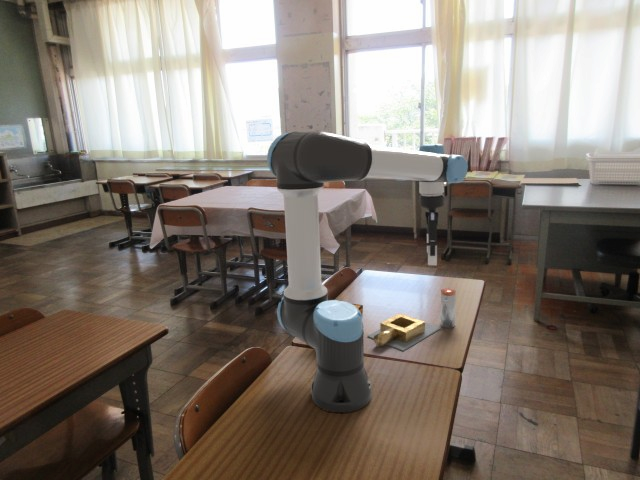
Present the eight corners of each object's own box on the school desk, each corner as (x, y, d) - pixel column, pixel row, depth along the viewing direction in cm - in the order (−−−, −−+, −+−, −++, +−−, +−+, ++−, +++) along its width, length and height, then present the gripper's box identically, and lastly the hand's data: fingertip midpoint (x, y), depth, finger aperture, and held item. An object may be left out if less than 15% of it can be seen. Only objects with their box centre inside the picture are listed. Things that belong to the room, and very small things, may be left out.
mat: (403, 351, 131) (403, 350, 131) (367, 336, 141) (367, 335, 141) (440, 328, 144) (440, 327, 144) (405, 316, 154) (405, 315, 154)
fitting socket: (391, 351, 131) (391, 340, 130) (365, 340, 138) (365, 330, 137) (424, 332, 142) (425, 321, 141) (399, 323, 149) (399, 313, 148)
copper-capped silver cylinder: (449, 329, 144) (450, 294, 141) (437, 325, 147) (438, 291, 144) (457, 324, 147) (458, 290, 144) (445, 320, 150) (445, 287, 147)
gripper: (446, 200, 127) (446, 271, 132) (441, 187, 150) (441, 247, 156) (419, 201, 128) (420, 270, 134) (419, 188, 152) (419, 247, 157)
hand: (431, 258), depth 145 cm, fingers open, 13 cm apart
